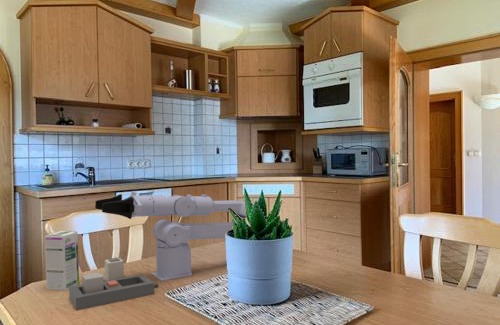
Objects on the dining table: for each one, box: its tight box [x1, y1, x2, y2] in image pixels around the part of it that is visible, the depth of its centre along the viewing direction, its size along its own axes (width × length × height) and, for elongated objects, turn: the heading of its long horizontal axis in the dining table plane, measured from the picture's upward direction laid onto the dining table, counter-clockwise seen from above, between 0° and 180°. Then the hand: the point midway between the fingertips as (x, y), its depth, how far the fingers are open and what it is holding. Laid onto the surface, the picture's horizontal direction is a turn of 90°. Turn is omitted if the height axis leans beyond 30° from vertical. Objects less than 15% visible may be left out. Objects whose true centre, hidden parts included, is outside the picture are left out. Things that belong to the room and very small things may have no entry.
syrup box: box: [44, 230, 80, 291], centre depth 102 cm, size 6×6×14 cm
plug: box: [104, 257, 125, 280], centre depth 105 cm, size 4×4×6 cm
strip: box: [68, 272, 159, 311], centre depth 96 cm, size 20×9×6 cm, turn 124°
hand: (98, 206), depth 101 cm, fingers open, 7 cm apart
